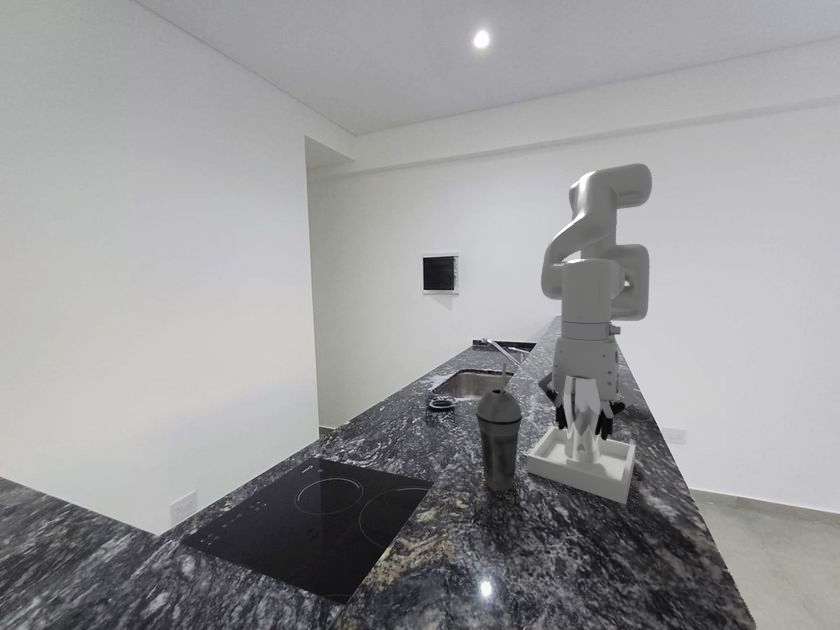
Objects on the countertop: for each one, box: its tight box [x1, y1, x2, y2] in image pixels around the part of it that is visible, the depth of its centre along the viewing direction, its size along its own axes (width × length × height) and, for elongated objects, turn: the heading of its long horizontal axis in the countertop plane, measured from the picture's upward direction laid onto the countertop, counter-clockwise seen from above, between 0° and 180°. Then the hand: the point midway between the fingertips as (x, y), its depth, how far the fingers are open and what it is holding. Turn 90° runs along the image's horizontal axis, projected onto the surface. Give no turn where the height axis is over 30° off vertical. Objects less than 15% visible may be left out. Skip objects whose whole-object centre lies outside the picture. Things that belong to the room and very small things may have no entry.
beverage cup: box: [475, 362, 523, 492], centre depth 53 cm, size 7×7×20 cm
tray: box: [526, 425, 636, 505], centre depth 57 cm, size 15×15×3 cm
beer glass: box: [562, 375, 604, 465], centre depth 57 cm, size 7×7×15 cm
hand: (583, 431), depth 57 cm, fingers closed on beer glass, 6 cm apart
